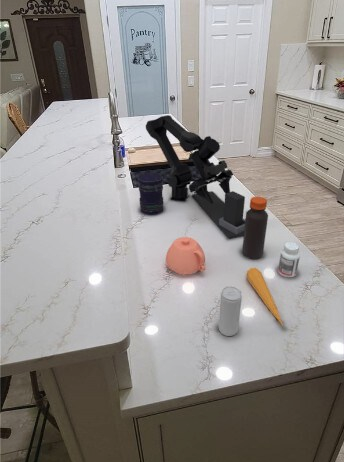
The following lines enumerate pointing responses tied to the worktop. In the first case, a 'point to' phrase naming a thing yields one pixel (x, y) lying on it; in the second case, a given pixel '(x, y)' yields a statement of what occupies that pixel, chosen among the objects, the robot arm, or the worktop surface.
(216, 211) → the base pad
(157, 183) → the storage jar
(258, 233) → the vinegar
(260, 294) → the carrot
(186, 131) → the robot arm
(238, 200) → the pad block
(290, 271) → the pill bottle
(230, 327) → the beverage can
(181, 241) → the pink dome with handle
